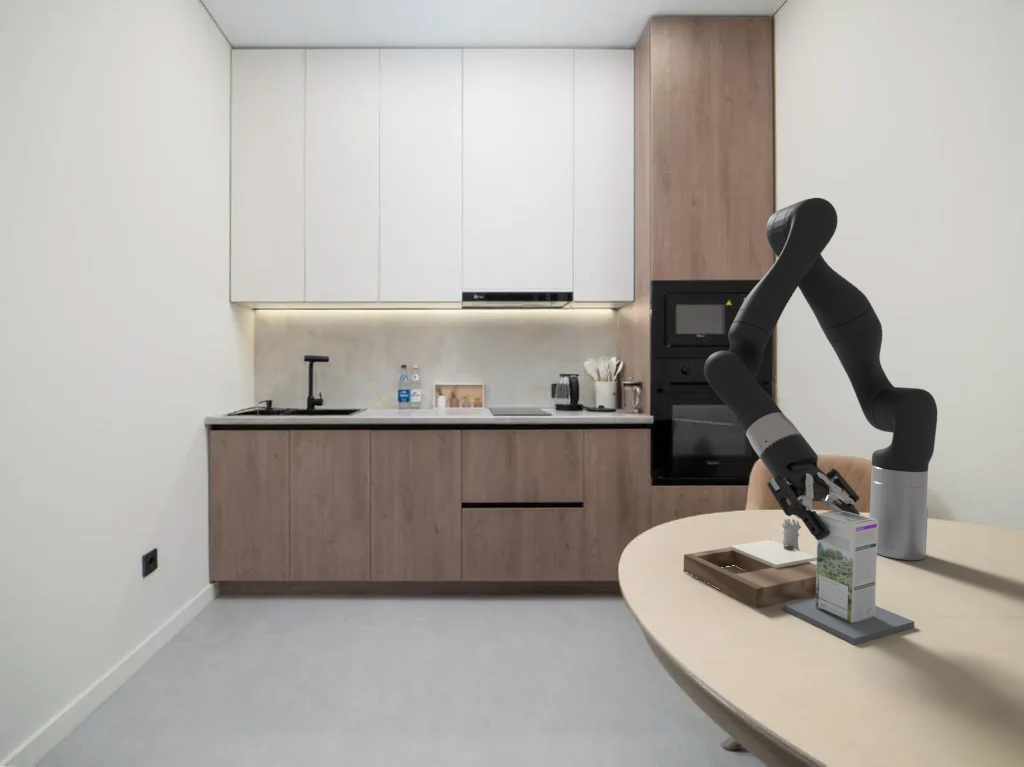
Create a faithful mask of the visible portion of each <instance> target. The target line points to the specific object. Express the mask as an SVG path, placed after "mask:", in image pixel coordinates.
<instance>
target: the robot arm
mask: <svg viewBox="0 0 1024 767" xmlns="http://www.w3.org/2000/svg"><path fill="white" fill-rule="evenodd" d="M838 221H839V220H838V214H837V210H836V209H835V207H834V206H833V203H831V202H830V201H828V200H827V199H825V198H822V197H812V198H811V197H810V198H807V199H803V200H800V201H798V202H795V203H793V204H791V205H788V206H786V207H782V208H780V209H778V210H777V211H774V213H772V215H771V216H770V217H769V219H768V221H767V223H766V226H765V227H766V228H765V229H766V230H765V233H766V238H767V241H768V243H769V246H770V247H771V250H773V252H774V254H775V255H776V257H777V259H776V261H775V262H774V263H773V265H772V266H771V267H770V269H769V270H768V271H767V272H766V274H765V275H763V277H762V278H761V279H760V281H759V282H757V284H756V285H755V286H754V287H753V288H752V290H751V291H750V292H749V294H747V296H746V297H745V299H744V300H743V302H742V304H741V306H740V308H739V309H738V312H737V313H736V316H735V318H734V320H733V321H732V324H731V326H730V327H729V331H728V333H727V337H728V338H727V339H728V341H729V349H728V350H719V351H716V352H714V353H712V354H710V355H709V357H708V358H706V360H705V363H704V366H703V373H704V378H705V380H706V382H707V383H708V384H709V386H710V387H711V388H712V390H713V391H714V392H715V394H716V395H717V396H718V397H719V398H720V399H721V401H722V402H723V403H724V404H725V405H726V407H727V408H728V409H729V411H730V412H731V414H732V415H733V417H734V419H735V421H736V423H737V424H738V425H739V427H740V428H741V430H742V431H743V433H744V434H745V435H746V437H747V439H748V441H749V443H750V445H751V447H752V449H753V450H754V452H755V453H756V454H757V456H758V457H759V459H760V460H761V462H762V463H763V464H764V466H765V468H766V470H768V472H769V474H771V476H772V478H771V479H770V480H769V481H768V482H767V486H768V488H769V490H770V492H771V493H772V495H773V496H774V498H775V499H776V502H777V503H778V504H779V506H780V508H781V510H782V511H783V513H784V514H785V516H788V517H791V516H792V515H793V516H795V517H796V518H797V519H800V520H801V521H802V522H803V524H804V525H805V526H806V527H807V529H808V531H809V532H810V534H811V535H812V536H813V537H814V538H815V539H816V540H822V539H824V538H825V537H827V536H828V535H829V534H830V532H829V530H828V528H827V527H826V526H825V524H824V523H823V521H822V520H821V519H820V517H819V516H818V514H819V513H817V511H816V510H813V502H821V503H822V504H824V505H826V506H831V507H833V508H835V510H842V511H846V512H850V513H854V514H858V515H861V513H860V512H859V511H858V509H857V508H856V506H855V504H856V503H857V502H858V501H859V500H860V496H859V495H858V494H857V493H856V492H855V490H854V489H853V488H852V486H851V485H850V484H849V483H848V482H847V481H846V479H845V478H844V477H843V476H842V475H841V473H840V472H839V471H838V470H837V469H836V468H831V470H829V471H826V472H825V471H823V470H822V469H820V468H819V466H818V460H819V457H818V456H819V455H818V454H817V453H816V452H815V450H814V449H813V448H812V446H811V445H810V444H809V442H808V441H807V440H806V439H805V437H804V436H803V434H801V432H800V431H799V429H798V428H797V427H796V426H795V424H794V423H793V421H791V420H790V419H789V418H788V417H787V416H786V414H784V412H783V411H782V410H781V409H780V407H779V406H778V404H777V403H776V402H775V401H774V399H773V398H772V397H771V396H770V395H769V394H768V393H767V391H765V390H764V389H763V388H762V387H761V386H760V385H759V383H758V382H757V379H758V378H757V377H758V375H759V372H760V368H761V364H762V361H763V356H764V351H765V348H766V345H767V344H768V342H769V340H770V338H771V336H772V335H773V333H774V330H775V328H776V326H777V324H778V322H779V320H780V318H781V316H782V314H783V312H784V310H785V308H786V307H787V305H788V303H789V301H790V299H791V298H792V296H793V295H794V294H795V291H796V290H797V289H798V288H799V290H800V292H801V294H802V296H803V297H804V299H805V300H806V302H807V304H808V306H809V308H810V309H811V311H812V313H813V314H814V316H815V318H816V320H817V322H818V324H819V326H820V329H821V330H822V332H823V333H824V335H825V337H826V339H827V341H828V342H829V344H830V345H831V347H832V348H833V351H834V353H835V354H836V356H837V358H838V360H839V361H840V364H841V366H842V369H844V372H845V373H846V375H847V377H848V379H849V382H850V384H851V386H852V389H853V392H854V393H855V396H856V399H857V401H858V403H859V404H858V405H860V409H861V411H862V413H863V415H864V417H865V419H866V420H867V422H868V424H870V425H871V426H872V427H873V428H874V429H876V430H878V431H881V432H886V433H887V432H888V433H892V437H891V438H892V440H891V443H890V444H889V445H888V446H886V447H885V448H881V449H876V450H875V451H873V452H872V454H871V474H870V475H871V477H870V501H869V517H870V518H874V519H877V520H878V543H877V555H881V556H883V557H887V558H891V559H896V560H897V559H898V560H904V561H921V560H923V559H925V555H927V538H928V537H927V536H928V519H929V518H928V516H929V515H928V514H929V511H928V510H929V508H928V507H927V506H928V505H927V504H928V503H927V502H928V484H929V482H928V479H929V465H930V462H931V459H932V457H933V454H934V451H935V444H936V434H937V424H938V406H937V402H936V400H935V398H934V396H933V394H931V393H930V392H929V391H927V390H926V389H922V388H918V387H899V386H898V387H897V386H894V385H893V384H892V383H891V381H890V380H889V378H888V377H887V375H886V372H885V371H884V369H883V367H882V363H881V359H880V358H881V356H880V355H881V350H882V345H883V344H882V343H883V326H882V323H881V321H880V319H879V317H878V315H877V313H876V311H875V309H874V307H873V306H872V304H871V302H870V300H869V299H868V297H867V296H866V294H865V293H864V292H862V291H861V290H860V289H859V288H858V287H856V285H854V284H853V283H851V282H850V281H849V280H848V279H846V278H845V277H843V276H842V275H841V274H839V273H838V272H837V271H835V270H834V269H833V268H832V267H831V266H830V265H829V263H827V261H826V260H825V259H824V257H823V256H822V253H823V251H825V249H826V248H827V246H828V244H829V243H830V241H831V240H832V239H833V237H834V235H835V233H836V230H837V228H838ZM830 491H831V493H830ZM844 491H845V492H846V494H845V493H844ZM787 499H788V501H789V503H790V504H789V503H788V502H787ZM836 499H837V500H838V501H837V500H836Z"/></svg>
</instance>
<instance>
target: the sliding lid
mask: <svg viewBox="0 0 1024 767" xmlns="http://www.w3.org/2000/svg"><path fill="white" fill-rule="evenodd" d="M782 544H783V543H779V542H777V541H774V540H771V539H766V540H760V541H753V542H748V543H747V542H746V543H742V544H736V545H730V546H729V547H730V549H731V550H733V551H736V552H738V553H740V554H743V555H745V556H748V557H750V558H753V559H755V560H757V561H760V562H762V563H765V564H767V565H769V566H772V567H774V568H780V567H785V566H790V565H796V564H801V563H806V562H810V563H813V562H815V561H816V562H817V556H815V555H813V554H810V553H807V552H804V551H802V550H800V549H799V550H800V551H799V550H796V549H793V545H790V544H784V545H782Z"/></svg>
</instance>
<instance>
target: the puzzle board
mask: <svg viewBox="0 0 1024 767" xmlns="http://www.w3.org/2000/svg"><path fill="white" fill-rule="evenodd" d="M732 565H735V566H737V567H739V568H741V569H743V570H742V571H744V570H745V571H744V572H742V573H734V572H731V571H729V570H727V569H726V568H727V567H726V566H732ZM735 566H734V567H735ZM721 567H726V568H721ZM732 567H733V566H732ZM737 567H736V568H737ZM739 568H738V569H739ZM741 569H740V570H741ZM816 570H817V564H815V563H813V562H806V563H801V564H796V565H790V566H785V567H780V568H774V567H772V566H769V565H767V564H765V563H762V562H760V561H757V560H755V559H753V558H750V557H748V556H745V555H743V554H740V553H738V552H736V551H733V550H731V549H730V546H729V547H723V548H715V549H710V550H704V551H698V552H693V553H686V554H684V555H683V572H684V571H686V572H688V573H689V575H690V574H692V575H693V577H694V576H695V577H694V578H696V577H697V578H696V579H698V578H699V579H698V580H700V579H701V581H702V580H703V581H702V582H704V581H705V582H704V583H706V582H707V583H706V584H708V583H709V584H708V585H710V584H711V585H710V586H712V585H713V586H712V587H714V586H715V587H717V588H719V589H720V590H719V589H718V590H719V591H721V590H722V591H721V592H723V591H724V592H723V593H725V592H726V593H725V594H727V593H728V594H727V595H730V596H731V595H732V596H731V597H734V598H736V599H737V600H739V601H740V602H743V603H745V604H747V605H748V606H751V607H752V608H754V609H757V608H758V609H759V608H762V607H763V608H764V607H767V606H771V605H777V604H782V603H786V602H788V601H789V602H790V601H794V600H798V599H803V598H807V597H812V596H816ZM746 571H747V572H746ZM686 572H685V573H686ZM688 573H687V574H688ZM692 575H691V576H692ZM715 587H714V588H715ZM717 588H716V589H717Z"/></svg>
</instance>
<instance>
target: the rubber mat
mask: <svg viewBox="0 0 1024 767" xmlns="http://www.w3.org/2000/svg"><path fill="white" fill-rule="evenodd" d="M815 601H816V596H815V597H811V598H806V599H803V600H798V601H793V602H790V603H786V604H783V611H784V612H787V613H788V614H791V615H793V616H795V617H797V618H799V619H801V620H803V621H806V622H807V623H810V624H812V625H813V626H815V627H818V628H820V629H821V630H824V631H826V632H828V633H829V634H832V635H834V636H836V637H839V638H840V639H842V640H843V641H846V642H848V643H850V644H853V645H856V644H857V645H858V644H860V643H864V642H867V641H870V640H874V639H877V638H882V637H884V636H889V635H892V634H896V633H898V632H901V631H905V630H908V629H909V630H910V629H912V628H915V621H914V620H911V619H909V618H907V617H904V616H902V615H899V614H897V613H895V612H892V611H890V610H887V609H885V608H882V607H880V606H877V605H875V616H874V617H872V618H869V619H866V620H862V621H859V622H854V623H850V622H848V621H845V620H843V619H841V618H839V617H836V616H834V615H832V614H830V613H827V612H825V611H823V610H821V609H818V608H816V607H815V603H816V602H815Z"/></svg>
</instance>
